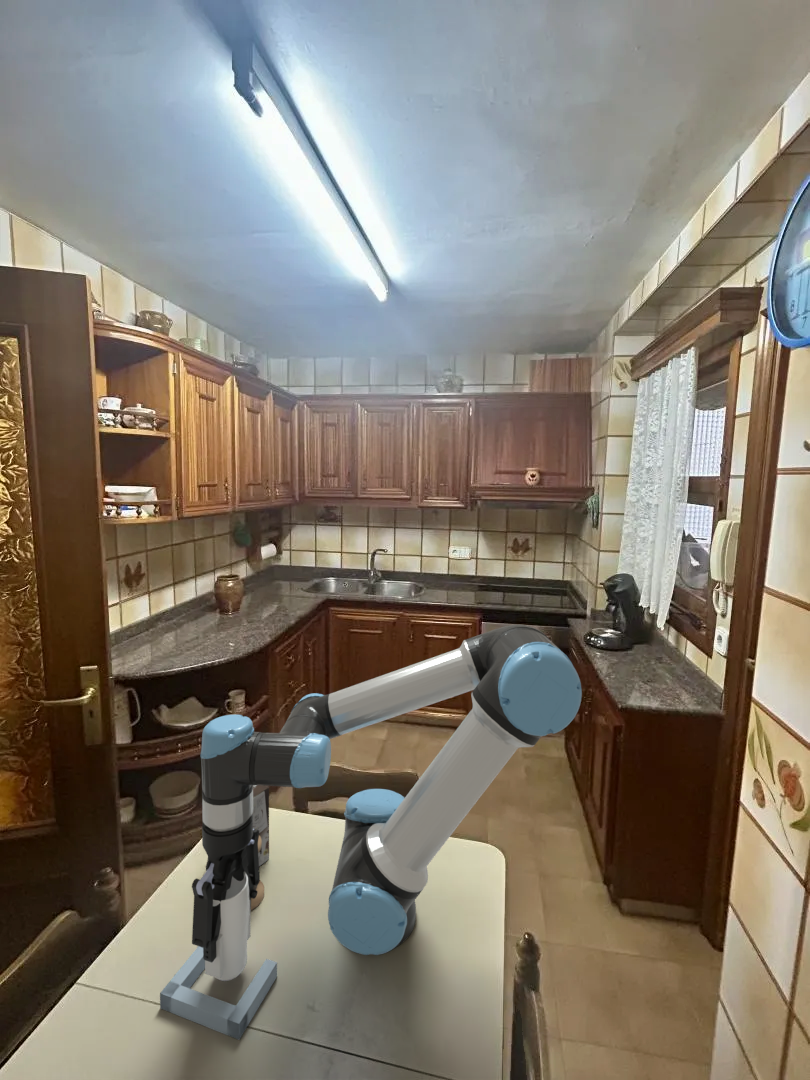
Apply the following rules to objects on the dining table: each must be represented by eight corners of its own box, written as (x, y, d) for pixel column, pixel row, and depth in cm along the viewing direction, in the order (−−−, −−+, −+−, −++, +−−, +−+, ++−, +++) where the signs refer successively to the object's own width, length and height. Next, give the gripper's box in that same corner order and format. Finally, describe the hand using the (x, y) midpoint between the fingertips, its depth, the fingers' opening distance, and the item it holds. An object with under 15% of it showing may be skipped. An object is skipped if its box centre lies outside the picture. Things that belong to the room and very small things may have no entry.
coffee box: (270, 858, 107) (270, 786, 106) (246, 877, 101) (246, 801, 100) (242, 842, 112) (242, 773, 111) (218, 859, 106) (217, 787, 105)
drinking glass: (206, 994, 76) (201, 907, 74) (208, 953, 82) (204, 872, 80) (252, 980, 78) (249, 895, 76) (251, 941, 84) (248, 862, 82)
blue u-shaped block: (277, 976, 80) (277, 962, 80) (239, 1039, 71) (239, 1023, 71) (205, 951, 85) (205, 938, 84) (160, 1008, 75) (160, 993, 75)
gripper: (244, 780, 88) (245, 902, 90) (161, 852, 69) (163, 1004, 71) (281, 788, 86) (281, 913, 87) (206, 865, 67) (207, 1021, 69)
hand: (228, 954), depth 79 cm, fingers closed on drinking glass, 6 cm apart
